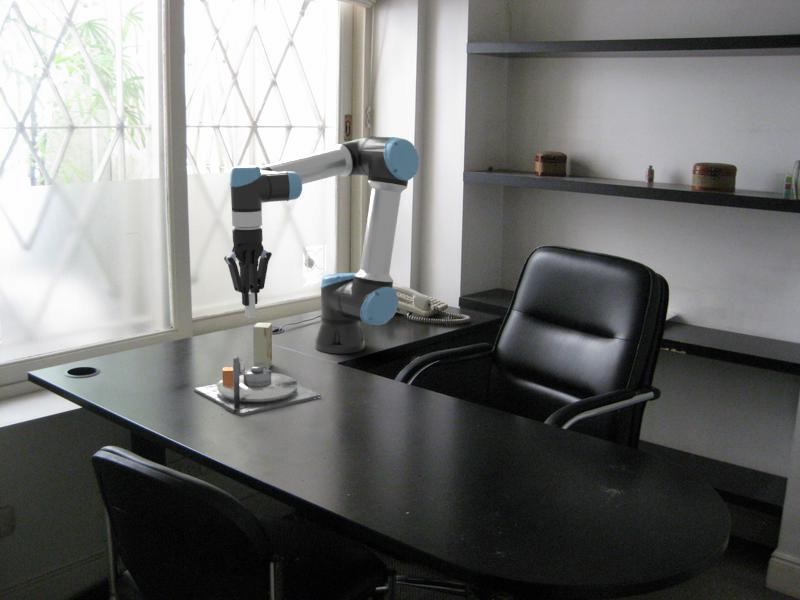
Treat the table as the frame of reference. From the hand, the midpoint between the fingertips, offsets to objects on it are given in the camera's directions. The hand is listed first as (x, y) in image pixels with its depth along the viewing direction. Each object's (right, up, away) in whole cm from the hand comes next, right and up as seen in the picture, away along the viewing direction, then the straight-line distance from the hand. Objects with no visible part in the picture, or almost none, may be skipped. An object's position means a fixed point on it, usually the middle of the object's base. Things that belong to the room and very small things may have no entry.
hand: (250, 316), depth 223 cm
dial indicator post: (0, -22, -17) cm, 28 cm away
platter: (+3, -18, -6) cm, 19 cm away
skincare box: (0, -15, +18) cm, 23 cm away
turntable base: (+3, -20, -5) cm, 21 cm away
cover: (+3, -17, -6) cm, 18 cm away
